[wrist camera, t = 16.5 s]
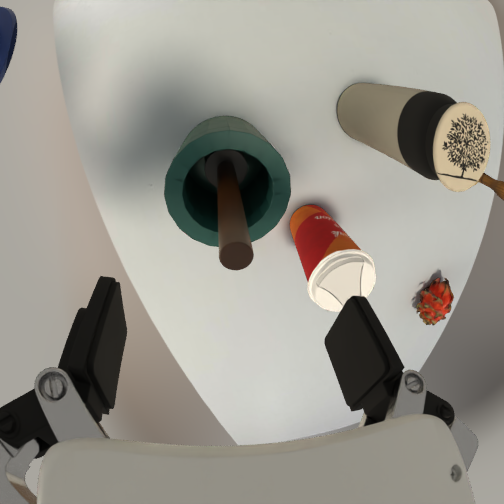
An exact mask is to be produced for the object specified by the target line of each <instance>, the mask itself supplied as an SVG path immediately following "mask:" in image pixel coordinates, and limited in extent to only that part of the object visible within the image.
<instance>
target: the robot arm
mask: <svg viewBox="0 0 504 504" xmlns="http://www.w3.org/2000/svg"><path fill="white" fill-rule="evenodd" d="M126 336H127V327H126V321H125V315H124V309H123V303H122V296H121V289H120V283H119V282H116V281H115V278H111V277H103V276H101V277H100V278H99V280H98V282H97V284H96V287H95V289H94V291H93V294H92V297H91V299H90V301H89V304H88V306H87V308H80V309H79V310H78V312H77V315H76V317H75V320H74V323H73V325H72V328H71V330H70V333H69V336H68V338H67V341H66V344H65V347H64V350H63V353H62V356H61V359H60V362H59V366H58V368H54V367H50V368H47V369H44V370H43V371H42V372H40V374H39V375H38V376H37V378H36V380H35V389H33V390H31V391H29V392H28V393H26V394H24V395H22V396H20V397H19V398H17V399H15V400H13V401H11V402H10V403H8V404H6V405H4V406H3V407H1V408H0V504H475V500H474V496H473V492H472V488H471V484H470V481H469V478H468V474H467V471H468V469H469V467H470V465H471V462H472V460H473V458H474V455H475V453H476V451H477V448H478V439H477V437H476V436H475V434H473V432H472V431H471V430H469V428H468V427H467V426H466V425H465V424H464V423H463V422H462V421H461V420H460V419H459V418H458V417H455V418H454V410H453V408H452V407H451V405H450V404H449V403H448V402H447V401H445V400H443V399H441V398H440V397H437V396H436V395H434V394H432V393H430V392H429V391H427V390H426V389H427V386H426V381H425V379H424V378H423V376H422V375H421V374H420V373H418V372H417V371H414V370H407V371H405V372H404V373H403V372H402V370H403V369H404V366H403V364H402V362H401V360H400V358H399V356H398V354H397V352H396V350H395V348H394V347H393V345H392V343H391V341H390V339H389V337H388V335H387V334H386V332H385V330H384V328H383V326H382V325H381V323H380V321H379V319H378V318H377V316H376V314H375V312H374V311H373V309H372V307H371V306H370V304H369V302H368V300H367V299H366V297H364V296H351V297H350V299H348V300H347V301H346V303H345V304H344V306H343V308H342V310H341V312H340V313H339V315H338V317H337V319H336V320H335V322H334V324H333V326H332V327H331V329H330V331H329V332H328V334H327V336H326V337H325V346H326V349H327V352H328V354H329V357H330V360H331V363H332V365H333V368H334V371H335V373H336V376H337V379H338V382H339V384H340V387H341V390H342V393H343V396H344V399H345V401H346V404H347V405H348V406H350V409H351V411H356V410H361V409H362V408H363V410H364V414H363V416H362V419H361V422H360V424H359V427H358V428H356V429H352V430H348V431H344V432H339V433H335V434H330V435H325V436H319V437H314V438H308V439H302V440H294V441H287V442H278V443H269V444H257V445H240V446H187V445H169V444H156V443H146V442H137V441H128V440H118V439H110V438H109V436H108V435H107V433H106V432H105V430H104V429H103V427H102V426H101V424H100V423H99V422H100V421H101V420H102V414H109V409H113V408H114V405H115V398H116V390H117V384H118V378H119V373H120V367H121V361H122V356H123V351H124V346H125V341H126ZM44 455H45V456H44ZM42 456H44V458H43V460H42V464H41V467H40V472H39V478H38V486H37V497H36V496H35V495H34V494H33V493H32V492H31V491H30V490H29V489H28V487H27V485H26V483H25V474H26V472H27V470H28V469H29V468H30V466H29V464H30V463H31V462H32V460H33V459H34V458H36V459H37V458H40V457H42Z"/></svg>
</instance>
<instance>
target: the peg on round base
mask: <svg viewBox="0 0 504 504" xmlns="http://www.w3.org/2000/svg"><path fill="white" fill-rule="evenodd" d="M246 174H247V163H246V160H245V157H244V155H243V152H242V151H239V150H232V149H225V150H219V151H214V152H212V153H210V154H208V155H206V161H205V175H206V178H207V179H208V181H209V182H210V183H211V184H212V185H214V186H215V187H217V196H218V239H219V259H220V262H221V263H222V265H223V266H224V267H226V268H228V269H230V270H241V269H244V268H246V267H247V266H248V265H249V264H250V263H251V262H252V260H253V256H254V254H253V249H252V244H251V240H250V235H249V231H248V226H247V221H246V217H245V212H244V208H243V203H242V199H241V194H240V190H239V184H240V183H241V182H242V181H243V180H244V178H245V177H246Z"/></svg>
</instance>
